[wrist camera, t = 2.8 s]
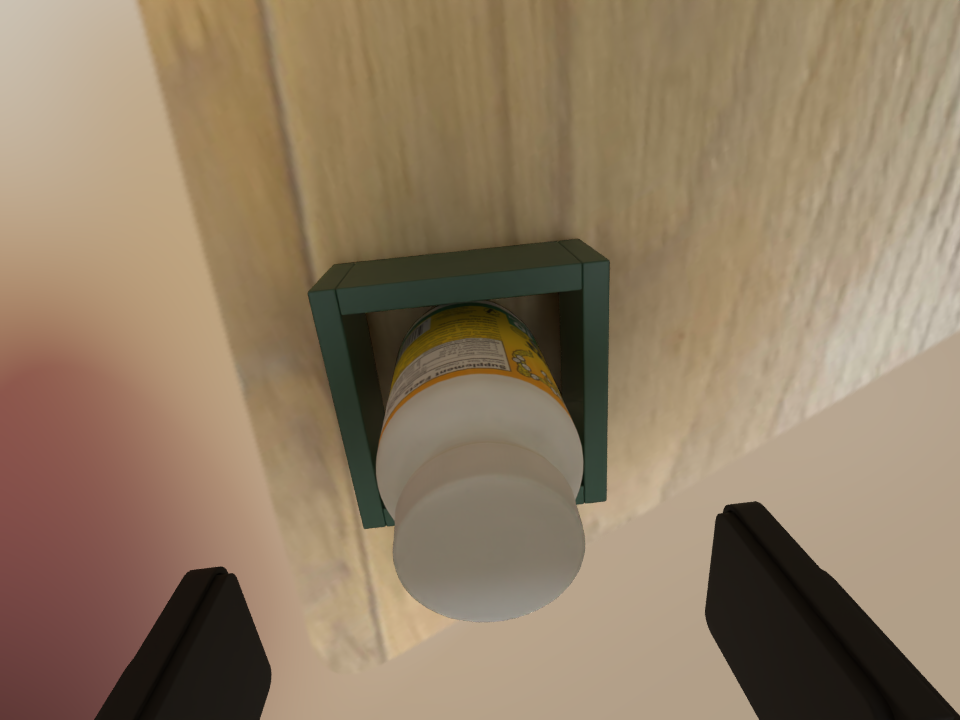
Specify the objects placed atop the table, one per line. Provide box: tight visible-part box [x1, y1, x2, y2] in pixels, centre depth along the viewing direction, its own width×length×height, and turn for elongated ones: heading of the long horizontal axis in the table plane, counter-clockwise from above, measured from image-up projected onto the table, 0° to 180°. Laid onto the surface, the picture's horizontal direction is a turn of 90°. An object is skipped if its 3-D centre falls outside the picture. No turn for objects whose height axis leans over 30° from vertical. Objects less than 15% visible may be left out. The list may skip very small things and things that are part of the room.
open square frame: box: [308, 239, 610, 529], centre depth 17 cm, size 9×9×4 cm
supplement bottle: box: [376, 300, 585, 622], centre depth 15 cm, size 5×5×10 cm
